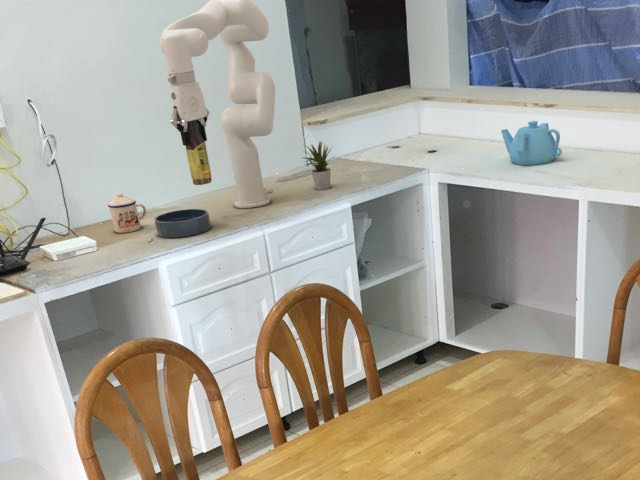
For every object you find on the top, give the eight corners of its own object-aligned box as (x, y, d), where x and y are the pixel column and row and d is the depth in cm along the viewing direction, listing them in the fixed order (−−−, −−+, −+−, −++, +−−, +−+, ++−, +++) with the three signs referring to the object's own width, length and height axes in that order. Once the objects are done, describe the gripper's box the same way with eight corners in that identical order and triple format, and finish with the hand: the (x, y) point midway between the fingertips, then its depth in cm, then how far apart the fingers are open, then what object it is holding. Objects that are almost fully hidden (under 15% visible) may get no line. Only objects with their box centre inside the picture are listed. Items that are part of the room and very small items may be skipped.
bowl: (185, 222, 313) (182, 207, 310) (221, 226, 304) (219, 210, 301) (146, 236, 301) (143, 220, 299) (183, 240, 292) (180, 224, 290)
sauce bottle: (208, 185, 292) (194, 117, 281) (189, 186, 293) (175, 118, 282) (216, 180, 297) (202, 113, 286) (198, 181, 299) (184, 114, 288)
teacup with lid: (119, 234, 306) (110, 198, 300) (110, 230, 313) (101, 194, 307) (153, 227, 311) (145, 191, 305) (144, 223, 318) (136, 187, 312)
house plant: (304, 185, 349) (298, 138, 340) (341, 181, 348) (335, 134, 339) (301, 193, 337) (294, 145, 328) (339, 189, 336) (333, 141, 327)
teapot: (549, 153, 359) (549, 114, 351) (566, 162, 343) (566, 121, 335) (501, 160, 357) (500, 121, 349) (516, 169, 341) (515, 128, 333)
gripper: (169, 83, 271) (182, 149, 281) (211, 74, 283) (223, 137, 292) (152, 83, 275) (166, 148, 285) (195, 74, 287) (206, 137, 296)
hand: (195, 142), depth 289 cm, fingers closed on sauce bottle, 6 cm apart
